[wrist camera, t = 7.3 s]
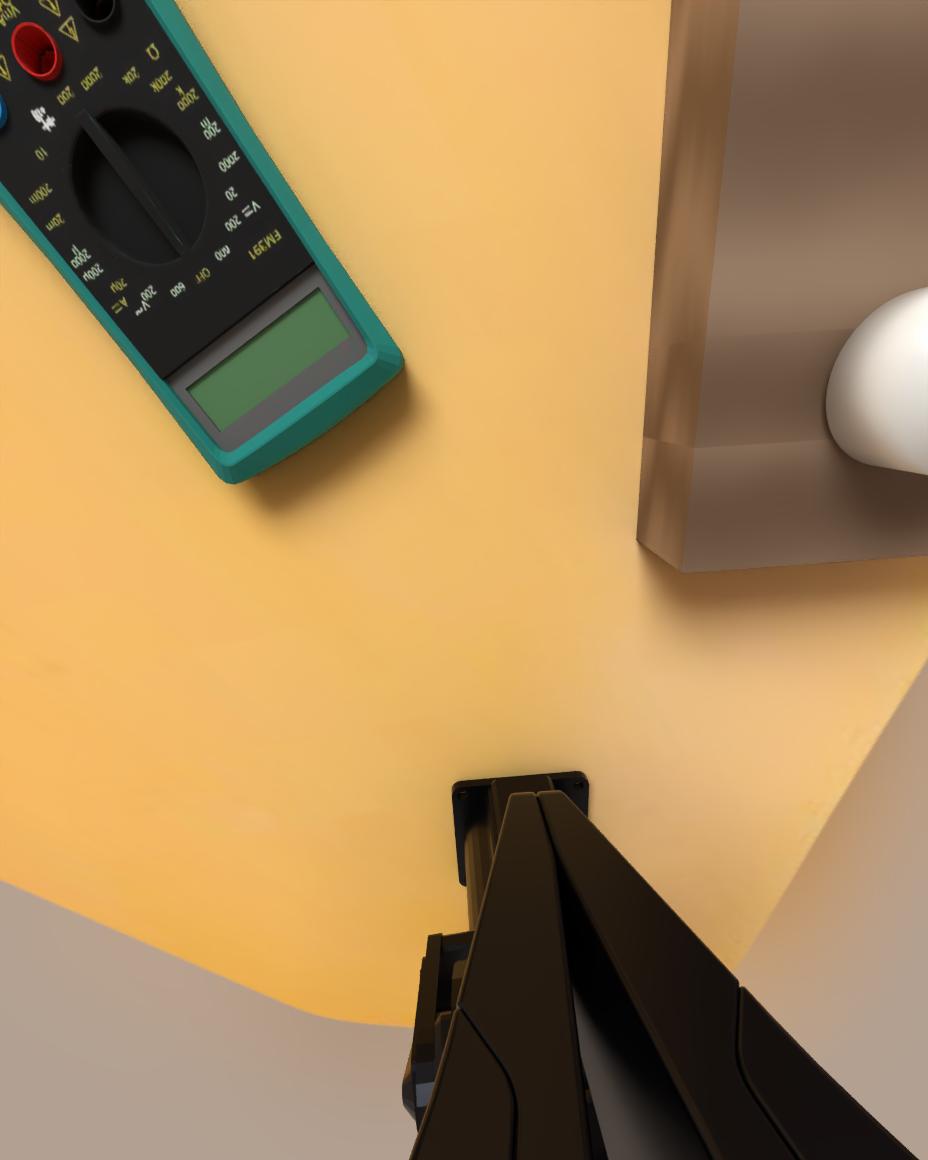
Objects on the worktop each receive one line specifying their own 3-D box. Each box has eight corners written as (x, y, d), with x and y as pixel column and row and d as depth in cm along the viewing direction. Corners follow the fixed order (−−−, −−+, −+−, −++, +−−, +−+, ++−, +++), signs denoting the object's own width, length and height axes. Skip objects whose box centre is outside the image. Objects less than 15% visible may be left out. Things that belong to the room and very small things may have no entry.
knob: (859, 446, 19) (1060, 473, 13) (736, 455, 19) (879, 486, 13) (889, 305, 18) (1136, 259, 11) (754, 313, 17) (930, 271, 11)
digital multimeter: (90, -143, 13) (0, -283, 10) (414, 370, 18) (410, 367, 15) (-95, 48, 14) (-222, -34, 12) (255, 483, 19) (225, 499, 16)
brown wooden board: (926, 519, 21) (1035, 547, 17) (636, 539, 20) (681, 573, 16) (1195, -462, 12) (1540, -848, 8) (701, -454, 12) (826, -851, 8)
